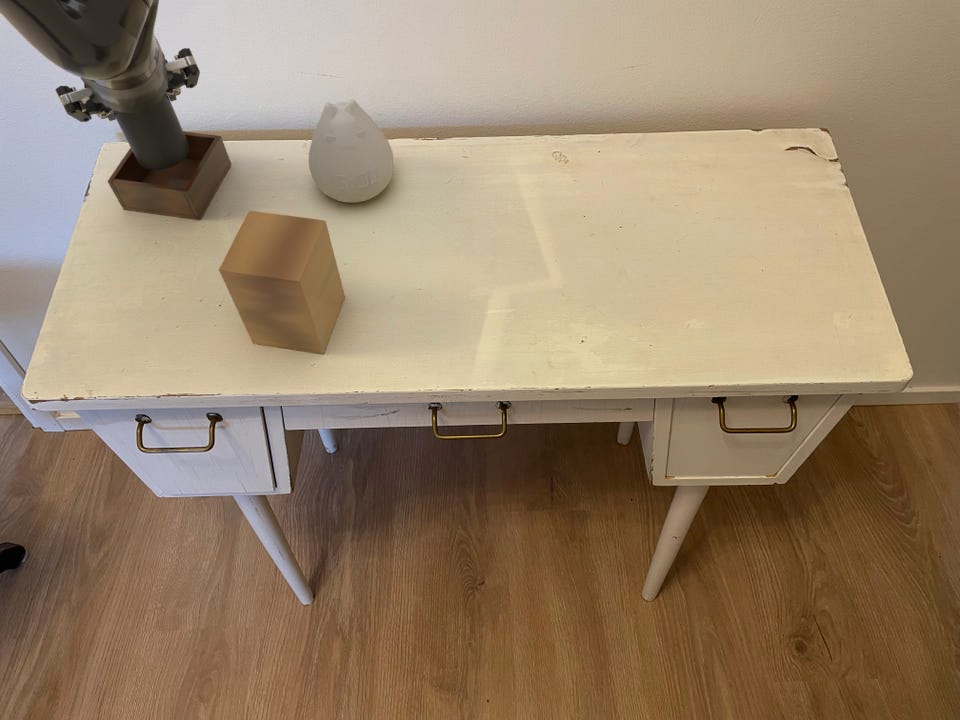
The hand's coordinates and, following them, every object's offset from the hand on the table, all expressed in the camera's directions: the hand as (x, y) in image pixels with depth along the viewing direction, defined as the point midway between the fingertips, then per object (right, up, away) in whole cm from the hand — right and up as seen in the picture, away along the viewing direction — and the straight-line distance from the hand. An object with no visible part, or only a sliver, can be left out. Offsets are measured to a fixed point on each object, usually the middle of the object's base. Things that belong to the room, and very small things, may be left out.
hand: (139, 101), depth 83 cm
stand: (+19, -25, -3) cm, 32 cm away
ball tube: (+1, -5, +4) cm, 6 cm away
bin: (+1, -8, +9) cm, 12 cm away
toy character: (+23, -7, +9) cm, 26 cm away
